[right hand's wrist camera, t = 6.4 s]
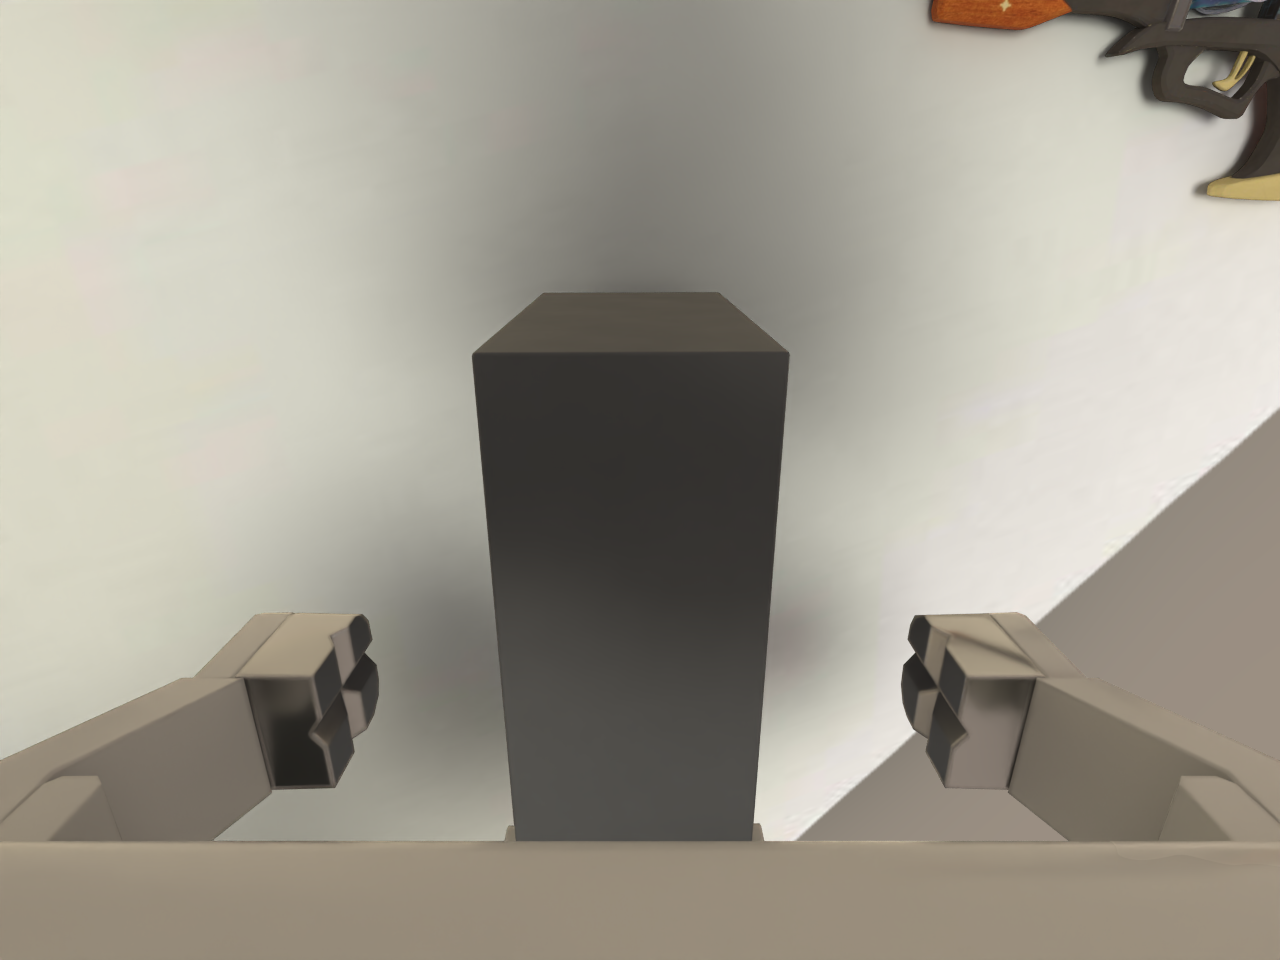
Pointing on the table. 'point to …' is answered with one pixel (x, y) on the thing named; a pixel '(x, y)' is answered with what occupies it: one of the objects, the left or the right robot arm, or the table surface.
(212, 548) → the table surface
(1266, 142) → the toy gun
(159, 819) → the right robot arm
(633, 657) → the box
